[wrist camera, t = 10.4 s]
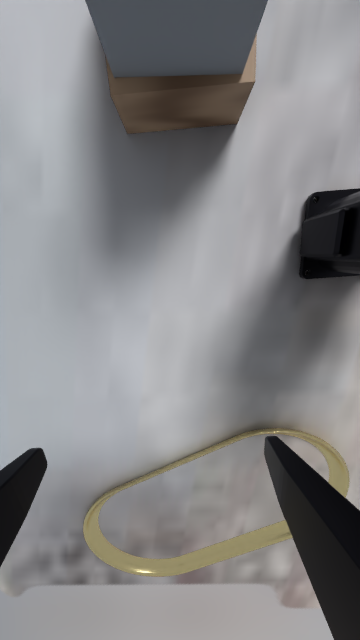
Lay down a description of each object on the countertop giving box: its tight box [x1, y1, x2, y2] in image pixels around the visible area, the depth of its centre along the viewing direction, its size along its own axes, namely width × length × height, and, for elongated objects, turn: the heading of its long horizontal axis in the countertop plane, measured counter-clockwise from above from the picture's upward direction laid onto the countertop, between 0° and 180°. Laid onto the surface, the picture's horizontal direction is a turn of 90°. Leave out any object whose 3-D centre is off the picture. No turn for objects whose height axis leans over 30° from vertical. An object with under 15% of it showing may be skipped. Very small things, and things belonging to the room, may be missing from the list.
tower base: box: [105, 33, 257, 134], centre depth 12 cm, size 8×8×4 cm
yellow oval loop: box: [83, 428, 349, 577], centre depth 26 cm, size 19×35×2 cm, turn 120°
